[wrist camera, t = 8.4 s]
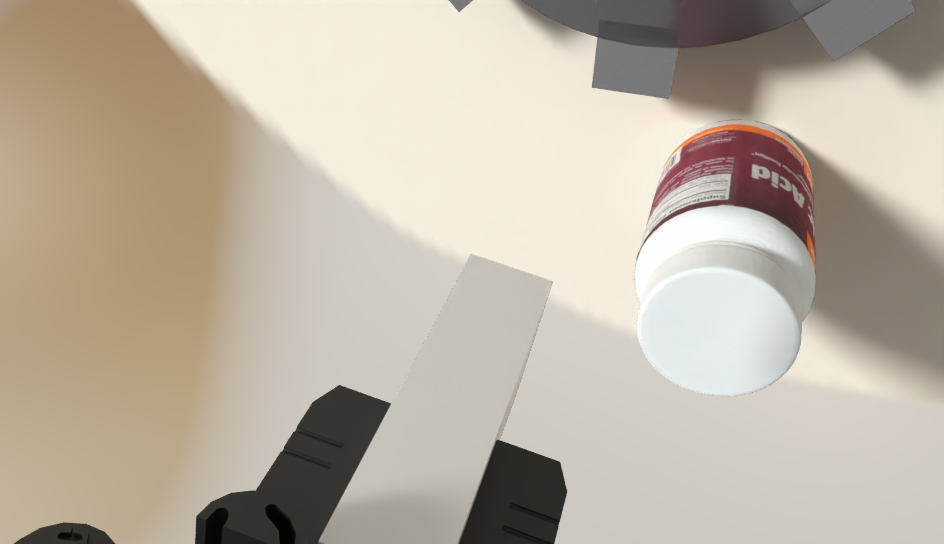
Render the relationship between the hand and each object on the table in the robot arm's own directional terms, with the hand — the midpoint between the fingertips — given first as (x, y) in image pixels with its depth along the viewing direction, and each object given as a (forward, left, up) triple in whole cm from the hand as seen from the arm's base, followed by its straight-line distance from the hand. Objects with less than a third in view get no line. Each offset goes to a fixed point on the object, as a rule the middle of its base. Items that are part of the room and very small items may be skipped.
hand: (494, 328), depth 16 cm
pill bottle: (0, +6, -15) cm, 16 cm away
